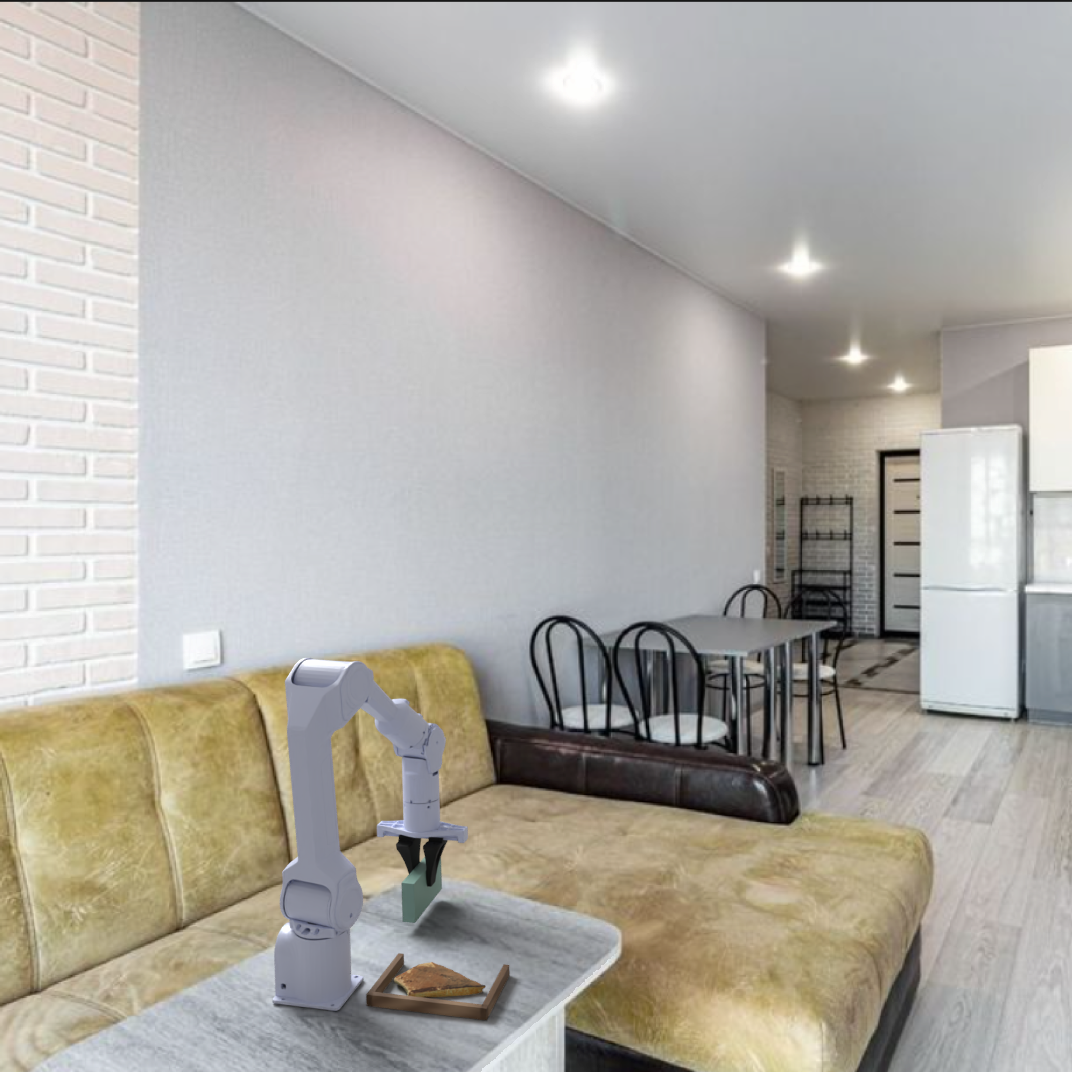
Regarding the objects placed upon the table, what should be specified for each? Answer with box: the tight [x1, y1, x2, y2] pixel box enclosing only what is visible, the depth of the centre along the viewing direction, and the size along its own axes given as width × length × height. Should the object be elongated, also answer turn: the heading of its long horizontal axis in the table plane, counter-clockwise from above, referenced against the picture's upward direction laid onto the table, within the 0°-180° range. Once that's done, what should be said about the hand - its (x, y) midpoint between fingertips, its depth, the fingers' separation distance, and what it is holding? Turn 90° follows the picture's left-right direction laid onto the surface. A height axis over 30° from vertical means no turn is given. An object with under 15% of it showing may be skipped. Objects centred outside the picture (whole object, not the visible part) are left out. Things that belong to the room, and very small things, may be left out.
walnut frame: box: [365, 952, 510, 1021], centre depth 118 cm, size 16×11×2 cm
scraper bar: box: [401, 856, 443, 924], centre depth 139 cm, size 12×2×6 cm, turn 166°
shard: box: [393, 961, 486, 998], centre depth 117 cm, size 11×8×2 cm
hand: (423, 883), depth 140 cm, fingers closed on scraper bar, 2 cm apart
